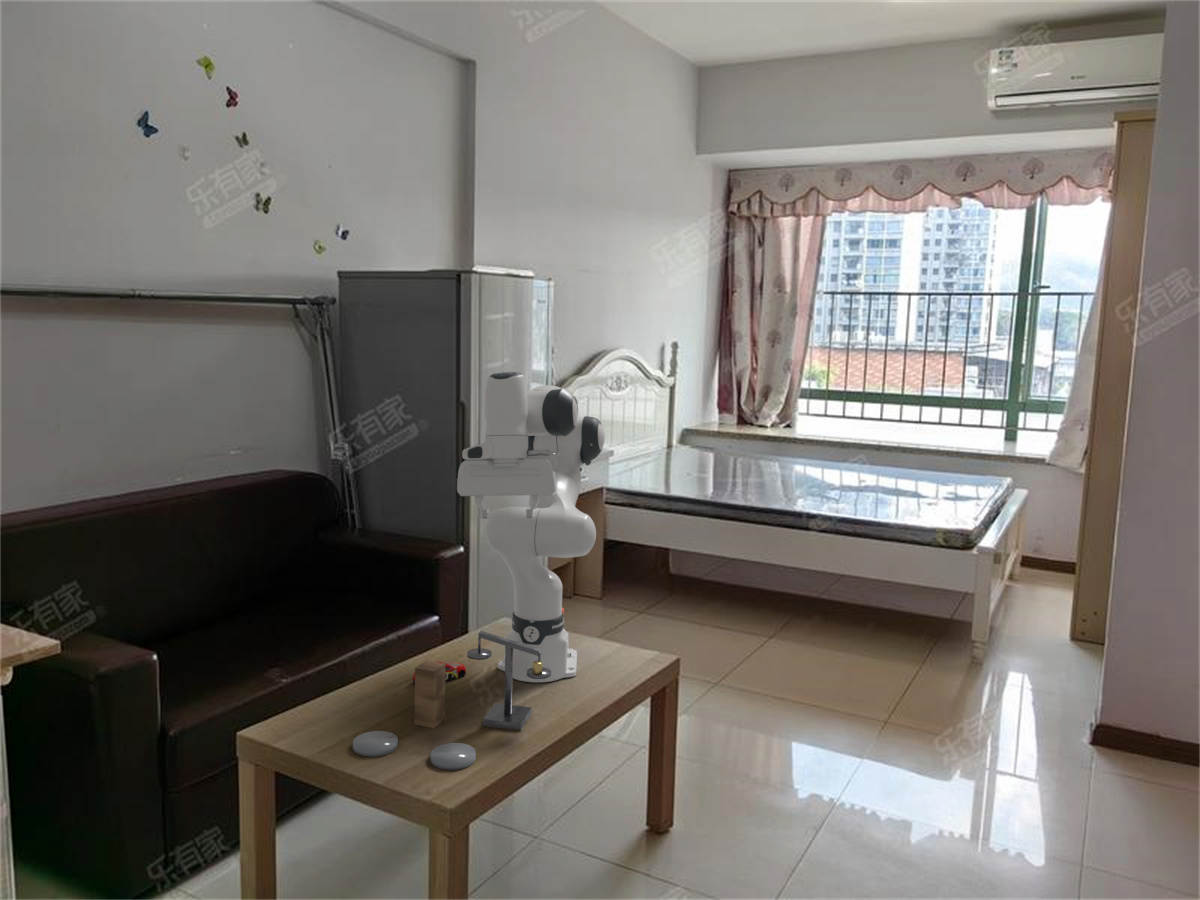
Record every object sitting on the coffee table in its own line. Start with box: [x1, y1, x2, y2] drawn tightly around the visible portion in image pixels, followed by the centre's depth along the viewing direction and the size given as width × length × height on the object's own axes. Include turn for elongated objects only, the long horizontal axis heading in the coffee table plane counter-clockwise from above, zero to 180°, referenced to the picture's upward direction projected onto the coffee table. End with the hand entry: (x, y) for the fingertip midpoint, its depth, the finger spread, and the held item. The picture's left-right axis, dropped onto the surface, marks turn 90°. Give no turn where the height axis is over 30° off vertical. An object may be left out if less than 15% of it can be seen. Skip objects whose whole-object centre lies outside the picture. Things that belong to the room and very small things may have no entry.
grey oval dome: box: [352, 730, 399, 758], centre depth 180 cm, size 8×8×1 cm
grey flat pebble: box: [429, 742, 477, 771], centre depth 176 cm, size 8×8×1 cm
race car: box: [412, 661, 467, 684], centre depth 214 cm, size 13×5×4 cm, turn 134°
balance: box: [466, 630, 551, 731], centre depth 192 cm, size 8×18×18 cm, turn 79°
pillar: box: [414, 660, 446, 729], centre depth 190 cm, size 4×4×12 cm
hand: (507, 518), depth 191 cm, fingers open, 8 cm apart
